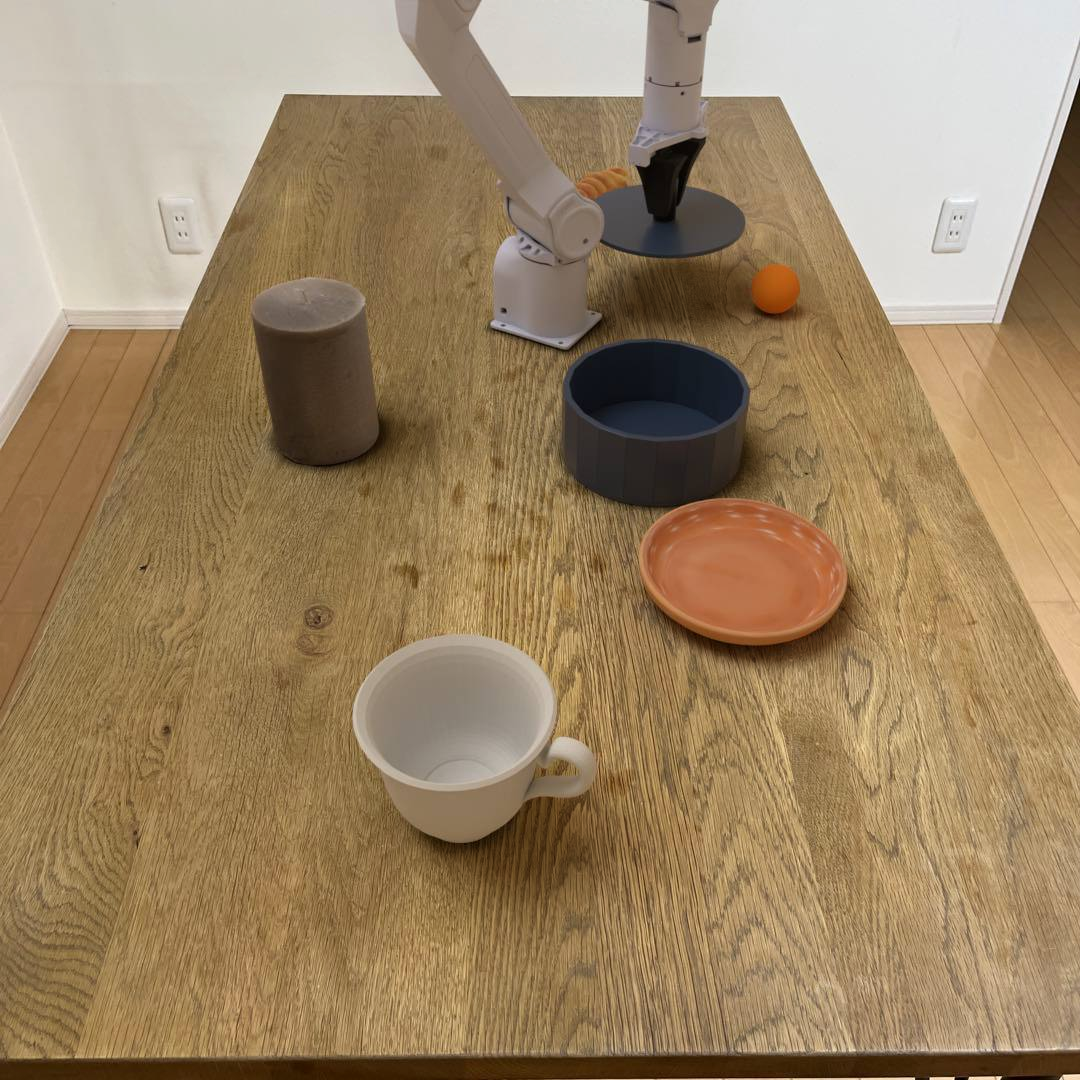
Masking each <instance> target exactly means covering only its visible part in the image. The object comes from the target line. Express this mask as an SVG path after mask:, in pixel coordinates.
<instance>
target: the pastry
mask: <svg viewBox="0 0 1080 1080" xmlns="http://www.w3.org/2000/svg"><path fill="white" fill-rule="evenodd" d="M573 184H574V185H575V186H576V188H577V189H578V191H579V192H580V194H581V195H582V196H583V197H586V198H588V199H590V200H592V201H593V200H594V199H596V198H597V197H599V196H601V195H603V194H605V193H607V192H610V191H612V190H616V189H619V188H623V187H628V186H635V185H636V184H635V182H634V180H633V178H632V175H631V173H630V172H629V171H628V170H627V169H625V168H624V167H623V166H616V167H615V166H613V165H612V166H609V167H608V168H607V169H605V170H598V171H595V172H590V173H587V174H585V176H584V177H583V178H582V179H580V180H578V181H577V182H576V183H573Z"/></svg>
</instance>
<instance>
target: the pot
mask: <svg viewBox="0 0 1080 1080" xmlns="http://www.w3.org/2000/svg"><path fill="white" fill-rule="evenodd" d="M561 387H562V389H561V390H562V391H561V393H562V394H561V395H562V396H561V441H560V443H561V449H562V450H561V451H562V458H563V461H564V463H565V465H566V467H567V469H568V471H569V472H570V474H571V475H572V476H573V477H574V478H575V479H576V480H577V481H578V482H579V483H580V484H582V485H583V486H584V487H586V488H588V489H589V490H591V491H592V492H594V493H596V494H598V495H600V496H602V497H605V498H607V499H610V500H613V501H616V502H619V503H624V504H628V505H633V506H641V507H652V508H653V507H654V508H656V507H657V508H660V507H661V508H662V507H663V508H665V507H675V506H684V505H687V504H690V503H694V502H698V501H703V500H705V499H706V498H709V497H711V496H713V495H715V494H716V493H718V492H720V491H721V490H723V489H724V488H725V487H727V486H728V485H729V484H730V483H731V481H732V480H733V479H734V478H735V476H736V475H737V473H738V470H739V468H740V465H741V458H742V453H743V445H744V438H745V431H746V427H747V426H746V425H747V418H748V411H749V404H750V397H751V388H750V385H749V383H748V381H747V378H746V376H745V374H744V373H743V371H741V370H740V369H739V368H738V367H737V366H736V365H735V363H733V362H732V361H731V360H730V359H728V358H726V357H725V356H722V355H721V354H718V353H717V352H714V351H713V350H711V349H709V348H707V347H703V346H699V345H697V344H693V343H690V342H686V341H682V340H675V339H666V338H658V337H657V338H654V337H650V338H631V339H623V340H618V341H615V342H611V343H606V344H601V345H599V346H597V347H595V348H594V349H591V350H589V351H588V352H584V353H583V354H581V355H580V356H579V357H578V358H577V359H576V360H575V361H573V363H572V364H571V365H569V367H568V368H567V371H566V373H565V376H564V378H563V380H562V386H561Z"/></svg>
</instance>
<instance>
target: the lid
mask: <svg viewBox="0 0 1080 1080" xmlns="http://www.w3.org/2000/svg"><path fill="white" fill-rule="evenodd" d="M678 181H679V176H678V177H677V180H676V184H675V187H674V193H673V198H672V203H671V207H670V210H669V213H668V215H667V216H666V217H661V216H657V215H653V214H649V213H648V211H647V206H646V201H645V195H644V190H643V186H642V184H635V186H628V187H623V188H619V189H616V190H612V191H610V192H607V193H605V194H603V195H601V196H599V197H597V198H596V199H594V200H593V201H594V202H595V203H597V204H598V205H599V206H600V208H601V210H602V212H603V215H604V230H603V234H602V237H601V239H600V241H599V243H600V244H602V245H604V246H606V247H608V248H609V249H612V250H615V251H619V252H621V253H625V254H627V255H628V254H629V255H632V256H637V257H644V258H650V259H651V258H653V259H669V260H672V259H673V260H674V259H691V258H695V257H696V258H697V257H703V256H707V255H711V254H714V253H717V252H720V251H722V250H725V249H728V248H729V247H731V246H732V245H734V244H735V243H736V242H738V241H739V240H740V238H742V236H743V235H744V232H745V230H746V216H745V215H744V212H743V211H742V209H740V207H738V205H736V204H735V203H734V202H733V201H731V200H730V199H728V198H726V197H725V196H722V195H720V194H718V193H716V192H712V191H710V190H706V189H702V188H699V187H695V186H688V185H686V188H685V191H684V194H683V197H682V200H681V202H680V205H678V206H677V207H676V205H677V193H678Z"/></svg>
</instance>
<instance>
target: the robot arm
mask: <svg viewBox="0 0 1080 1080" xmlns="http://www.w3.org/2000/svg"><path fill="white" fill-rule="evenodd" d="M643 1H644V2H647V3H648V7H647V24H646V40H645V41H646V43H645V59H644V77H643V92H642V93H643V94H642V113H641V118H640V120H639V122H638V126H637V128H636V132H635V135H634V137H633V140H631V142H630V143H628V148H627V149H628V151H627V164H628V165H633V166H635V168H636V171H637V173H638V176H639V178H640V181H641V182H640V183H641V185H642V186H643V190H644V195H645V201H646V206H647V211H648V213H649V214H653V215H657V216H661V217H666V216H667V215H668V213H669V210H670V207H671V203H672V198H673V193H674V187H675V184H676V180H677V177H678V176H679V181H678V193H677V205H676V207H677V206H678V205H680V202H681V200H682V197H683V194H684V191H685V188H686V186H687V185H688V181H689V178H690V175H691V172H692V170H693V167H694V165H695V162H696V160H697V158H698V156H699V155H700V153H701V151H702V150H703V148H704V147H705V145H706V143H707V135H709V134H710V126H709V125H706V124H703V123H704V122H706V121H707V120H708V112H709V111H708V110H709V101H707V100H703V99H702V91H703V81H704V69H705V58H706V49H707V38H708V37H707V36H708V32H709V30H710V27H711V26H712V23H713V16H714V11H715V9H716V6H717V5H718V3H719V1H720V0H643ZM481 2H482V0H394V6H395V7H394V8H395V13H396V21H397V27H398V32H399V34H400V37H401V38H402V40H403V42H404V43H405V45H406V46H407V48H408V50H409V51H410V52H411V54H412V55H413V57H414V58H415V60H416V61H417V63H418V64H419V65H420V67H421V68H422V70H423V71H424V73H425V74H426V76H427V77H428V78H429V80H430V81H431V83H432V84H433V86H434V87H435V88H436V90H437V92H438V93H439V95H440V96H441V97H442V98H443V100H444V102H445V103H446V105H447V106H448V107H449V109H450V111H452V113H453V114H454V116H455V117H456V119H457V121H458V122H459V124H460V125H461V126H462V128H463V129H464V130H465V132H466V133H467V135H468V136H469V138H470V139H471V141H472V142H473V143H474V145H475V147H476V148H477V150H479V153H481V155H482V156H483V158H484V159H485V161H486V162H487V164H488V165H489V166H490V168H491V169H492V171H493V172H494V174H495V175H496V177H497V178H498V179H497V182H496V185H495V186H496V188H497V189H498V191H499V192H500V194H501V196H502V198H503V203H504V205H503V206H504V212H505V215H506V218H507V220H508V221H509V223H510V224H511V225H512V226H514V227H515V230H516V231H515V232H516V235H510V236H508V237H507V238H505V240H503V242H502V243H500V244H501V245H500V246H499V247H498V249H497V252H496V255H495V258H494V262H493V267H492V268H493V270H492V279H493V280H492V281H493V283H492V284H493V286H492V287H493V314H494V315H493V318H494V319H493V320H492V321H491V322H490V327H491V328H492V329H494V330H498V331H500V332H501V331H502V332H504V333H507V334H511V335H515V336H517V337H521V338H524V339H527V340H530V341H533V342H538V343H540V344H544V345H547V346H551V347H554V348H557V349H560V350H564V351H567V350H569V349H570V348H572V346H574V345H575V344H576V343H577V342H578V341H579V340H580V339H581V338H582V337H583V336H585V334H587V333H588V332H589V331H590V330H591V329H592V328H593V327H594V326H595V325H597V324H598V322H600V321H601V320H602V318H603V317H602V316H603V314H602V313H600V312H597V311H593V310H591V309H587V307H588V283H589V281H588V279H589V278H588V277H589V258H590V257H592V252H593V251H594V250H595V249H596V247H597V246H598V244H599V243H600V242H599V241H600V239H601V237H602V234H603V230H604V215H603V212H602V210H601V208H600V206H599V205H598V204H597V203H595V202H594V201H592V200H590V199H588V198H586V197H583V196H582V195H581V194H580V192H579V191H578V189H577V188H576V186H575V185H574V184H575V183H573V182H572V180H570V179H569V178H568V176H566V174H565V173H563V172H562V171H561V169H560V168H558V166H557V165H556V164H555V163H554V162H553V161H552V159H551V158H550V156H549V155H548V153H547V152H546V149H545V148H544V147H543V146H542V143H541V142H540V140H539V139H538V137H537V136H536V134H535V133H534V131H533V129H532V128H531V126H530V124H529V123H528V122H527V120H526V118H525V116H524V115H523V113H522V112H521V110H520V109H519V107H518V106H517V104H516V102H515V100H514V98H512V95H511V94H510V93H509V91H508V89H507V88H506V86H505V84H504V83H503V82H502V80H501V78H500V77H499V75H498V73H497V72H496V71H495V69H494V67H493V66H492V64H491V63H490V61H489V59H488V58H487V55H486V54H485V53H484V51H483V50H482V48H481V47H480V45H479V43H478V41H477V40H476V39H475V37H474V35H473V33H472V32H471V31H470V23H471V22H472V20H473V18H474V16H475V14H476V12H477V10H478V9H479V6H480V4H481Z"/></svg>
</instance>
